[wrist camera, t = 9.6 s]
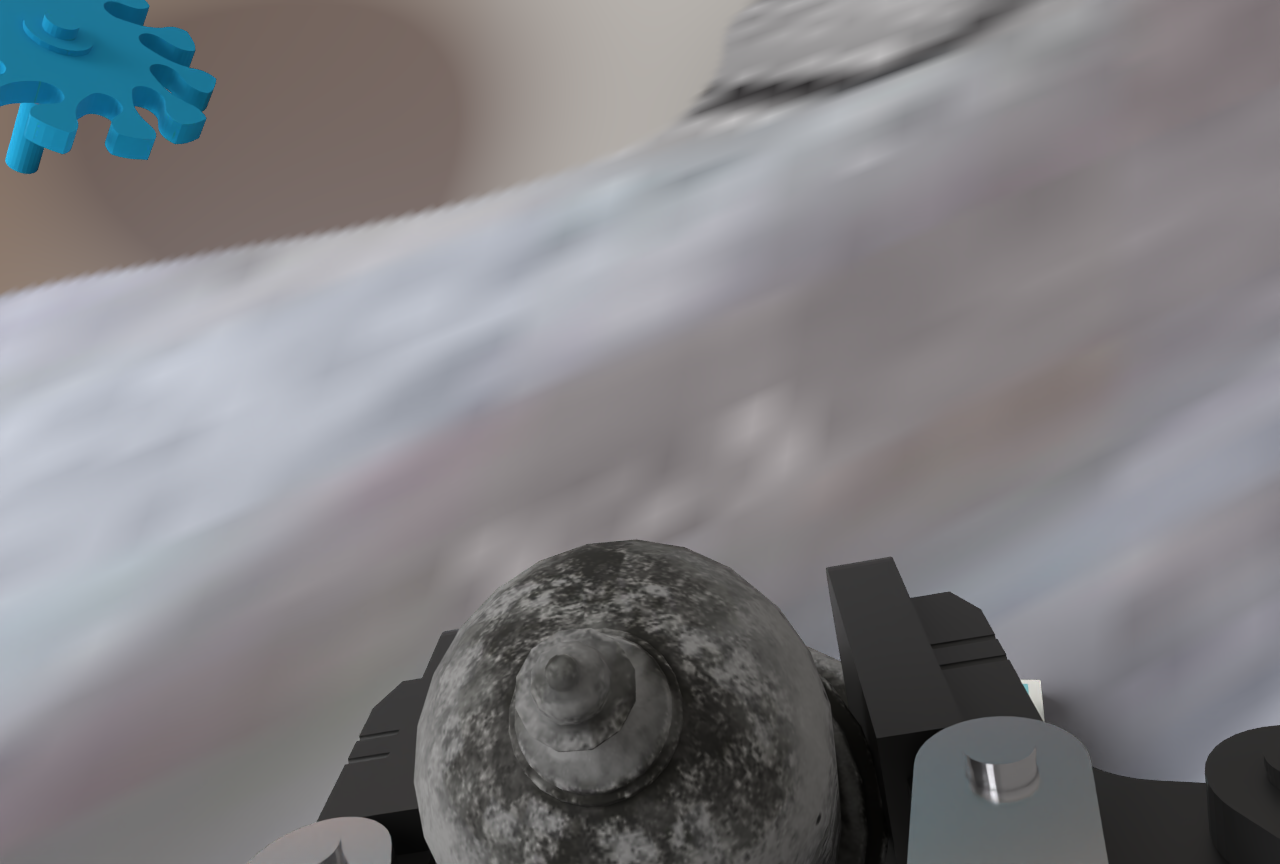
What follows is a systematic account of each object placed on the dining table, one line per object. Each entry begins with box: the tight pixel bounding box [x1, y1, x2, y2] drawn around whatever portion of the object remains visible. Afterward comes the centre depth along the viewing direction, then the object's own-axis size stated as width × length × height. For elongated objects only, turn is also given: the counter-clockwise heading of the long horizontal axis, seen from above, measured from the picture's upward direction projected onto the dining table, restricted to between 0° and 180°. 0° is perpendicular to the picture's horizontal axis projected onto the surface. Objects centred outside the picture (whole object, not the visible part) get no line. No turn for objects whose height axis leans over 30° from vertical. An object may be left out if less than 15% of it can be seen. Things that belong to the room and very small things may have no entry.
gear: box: [0, 0, 216, 174], centre depth 39 cm, size 11×6×10 cm
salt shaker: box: [414, 540, 889, 864], centre depth 11 cm, size 6×6×12 cm
